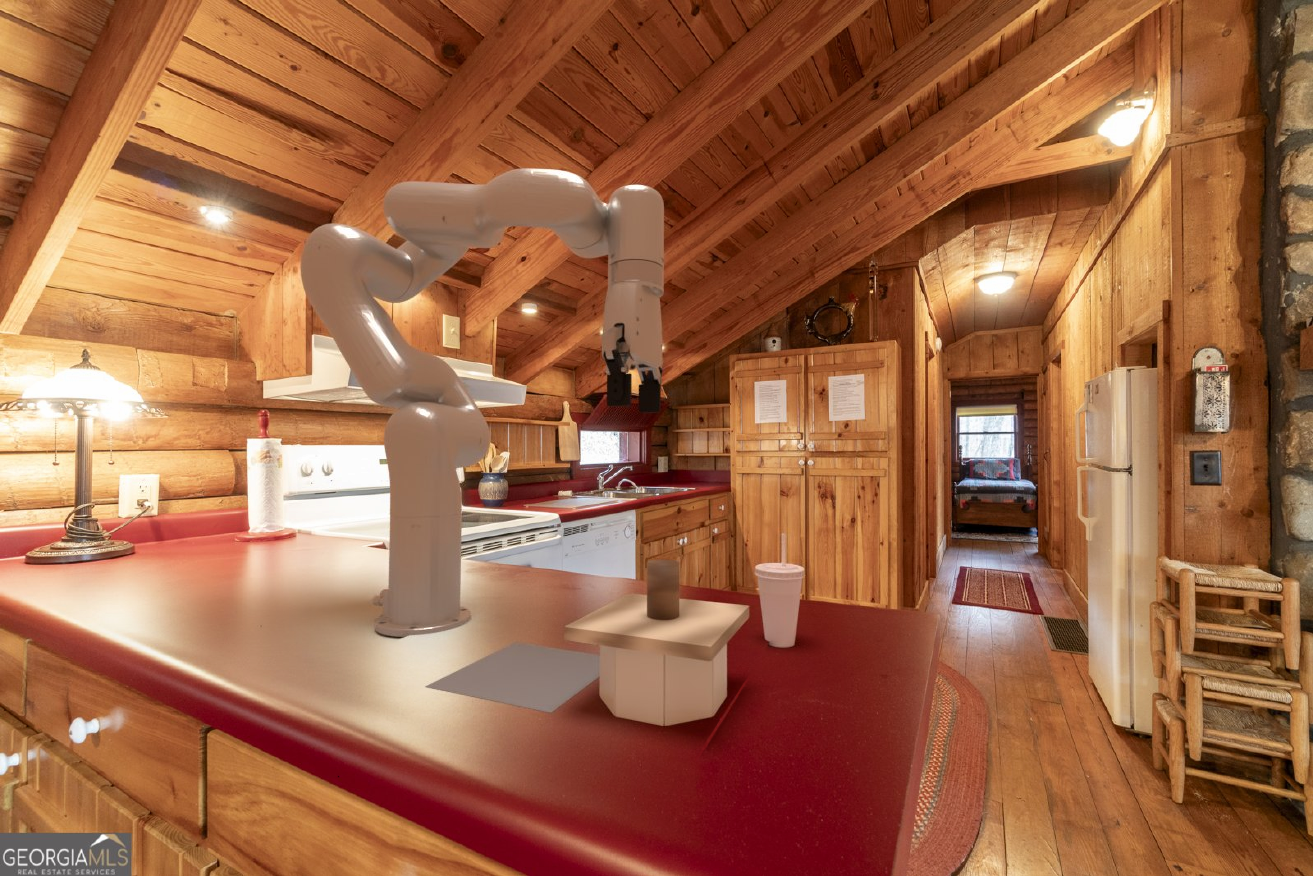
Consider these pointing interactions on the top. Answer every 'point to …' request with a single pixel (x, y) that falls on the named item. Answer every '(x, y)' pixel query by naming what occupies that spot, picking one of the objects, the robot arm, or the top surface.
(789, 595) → the smoothie
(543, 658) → the mat
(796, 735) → the top surface
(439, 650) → the top surface
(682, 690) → the bowl
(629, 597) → the lid
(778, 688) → the top surface
